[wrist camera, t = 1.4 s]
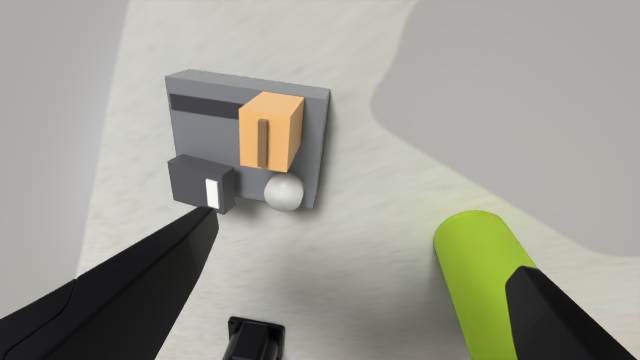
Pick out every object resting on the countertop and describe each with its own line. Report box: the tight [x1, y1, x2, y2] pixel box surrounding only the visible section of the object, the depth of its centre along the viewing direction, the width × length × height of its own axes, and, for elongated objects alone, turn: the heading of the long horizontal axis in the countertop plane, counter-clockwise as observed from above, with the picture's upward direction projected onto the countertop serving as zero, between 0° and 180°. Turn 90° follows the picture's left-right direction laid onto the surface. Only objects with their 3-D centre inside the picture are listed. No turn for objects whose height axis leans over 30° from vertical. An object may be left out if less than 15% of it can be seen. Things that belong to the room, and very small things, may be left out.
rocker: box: [168, 154, 235, 215], centre depth 20 cm, size 3×4×2 cm
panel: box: [165, 69, 330, 212], centre depth 20 cm, size 8×10×4 cm
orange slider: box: [239, 91, 304, 173], centre depth 16 cm, size 3×2×4 cm
